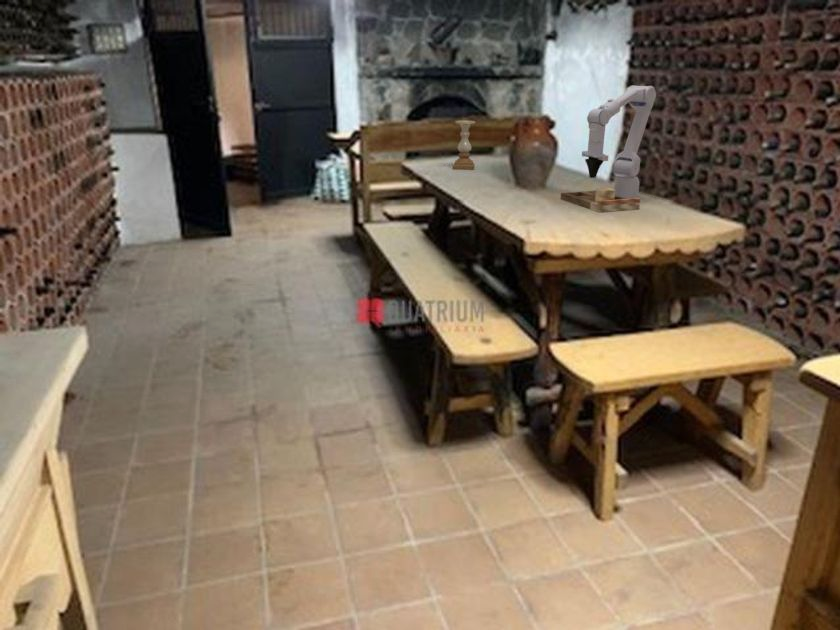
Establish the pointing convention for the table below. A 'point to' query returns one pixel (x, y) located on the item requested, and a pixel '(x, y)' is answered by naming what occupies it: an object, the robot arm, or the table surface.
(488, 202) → the table surface
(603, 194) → the beech block
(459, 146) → the candle holder
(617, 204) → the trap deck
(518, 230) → the table surface
